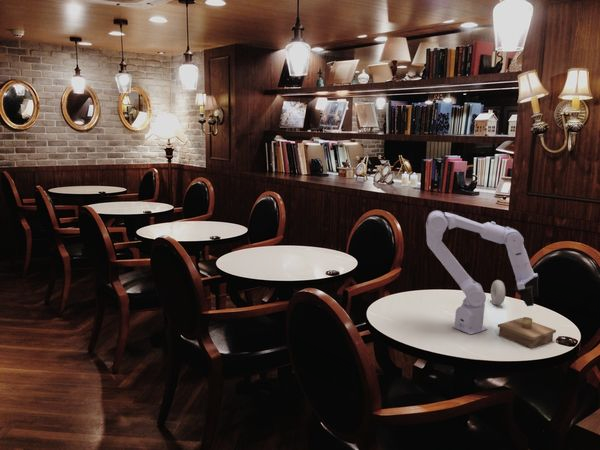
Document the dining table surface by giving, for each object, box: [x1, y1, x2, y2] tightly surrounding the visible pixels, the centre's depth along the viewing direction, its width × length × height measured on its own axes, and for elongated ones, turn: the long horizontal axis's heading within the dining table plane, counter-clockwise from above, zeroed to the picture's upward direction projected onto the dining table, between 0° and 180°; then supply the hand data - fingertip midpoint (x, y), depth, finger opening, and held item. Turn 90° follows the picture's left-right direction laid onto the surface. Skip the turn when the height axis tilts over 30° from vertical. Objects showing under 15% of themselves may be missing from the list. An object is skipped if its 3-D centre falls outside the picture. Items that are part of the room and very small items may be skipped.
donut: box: [490, 279, 506, 306], centre depth 211 cm, size 10×4×10 cm, turn 177°
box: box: [498, 328, 554, 349], centre depth 178 cm, size 12×12×3 cm
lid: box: [497, 316, 557, 340], centre depth 178 cm, size 13×13×4 cm
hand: (532, 301), depth 180 cm, fingers open, 7 cm apart
